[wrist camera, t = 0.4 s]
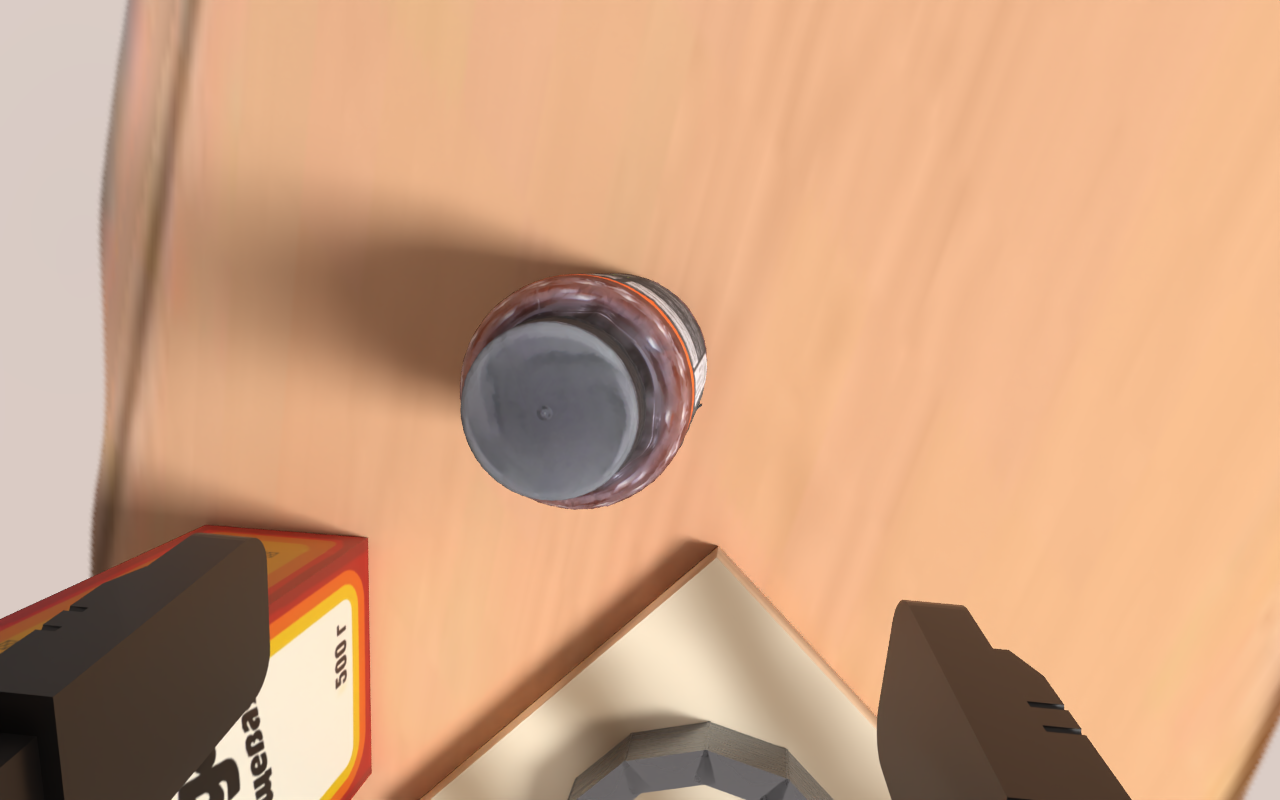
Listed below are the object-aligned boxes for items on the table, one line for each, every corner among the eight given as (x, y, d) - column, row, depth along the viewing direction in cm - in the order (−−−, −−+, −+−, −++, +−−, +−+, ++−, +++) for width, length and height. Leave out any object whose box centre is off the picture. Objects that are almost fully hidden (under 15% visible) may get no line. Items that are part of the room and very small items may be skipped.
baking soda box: (371, 772, 33) (27, 1217, 18) (216, 754, 34) (-244, 1163, 19) (367, 537, 32) (-11, 795, 16) (205, 524, 33) (-303, 757, 17)
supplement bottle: (585, 472, 30) (484, 588, 19) (510, 319, 30) (363, 348, 19) (739, 402, 29) (727, 483, 18) (664, 242, 29) (604, 225, 18)
